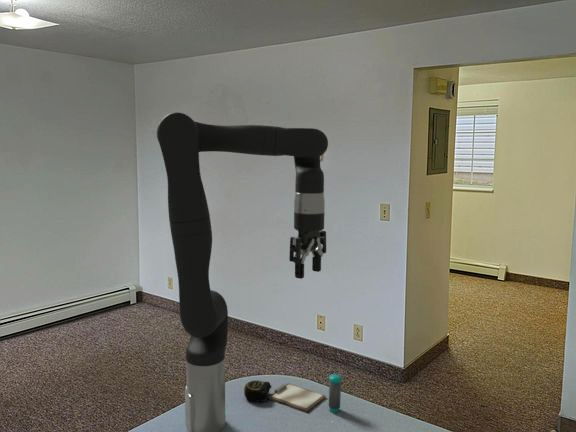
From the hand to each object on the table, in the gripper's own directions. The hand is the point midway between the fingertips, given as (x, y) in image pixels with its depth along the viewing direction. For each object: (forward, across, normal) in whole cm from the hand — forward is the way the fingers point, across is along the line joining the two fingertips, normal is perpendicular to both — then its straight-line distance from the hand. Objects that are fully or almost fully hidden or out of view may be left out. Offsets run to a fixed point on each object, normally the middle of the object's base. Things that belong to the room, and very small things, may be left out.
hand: (308, 274), depth 125 cm
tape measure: (+36, -2, +14) cm, 39 cm away
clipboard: (+36, +3, +5) cm, 37 cm away
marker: (+36, +3, -6) cm, 37 cm away
